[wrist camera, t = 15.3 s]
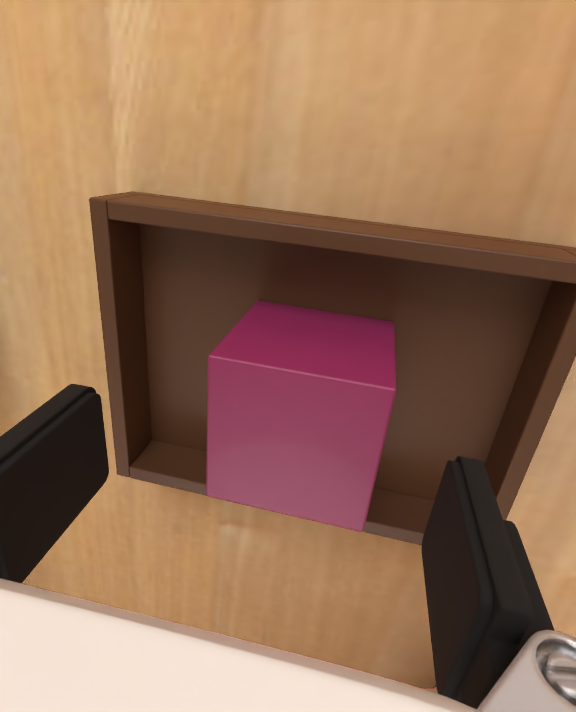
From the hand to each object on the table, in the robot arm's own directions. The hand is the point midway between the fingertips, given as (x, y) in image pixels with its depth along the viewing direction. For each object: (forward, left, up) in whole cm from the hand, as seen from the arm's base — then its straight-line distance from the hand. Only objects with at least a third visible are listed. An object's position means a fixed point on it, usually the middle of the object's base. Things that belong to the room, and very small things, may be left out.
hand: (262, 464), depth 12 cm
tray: (0, 0, -7) cm, 7 cm away
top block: (+1, 0, -6) cm, 6 cm away
